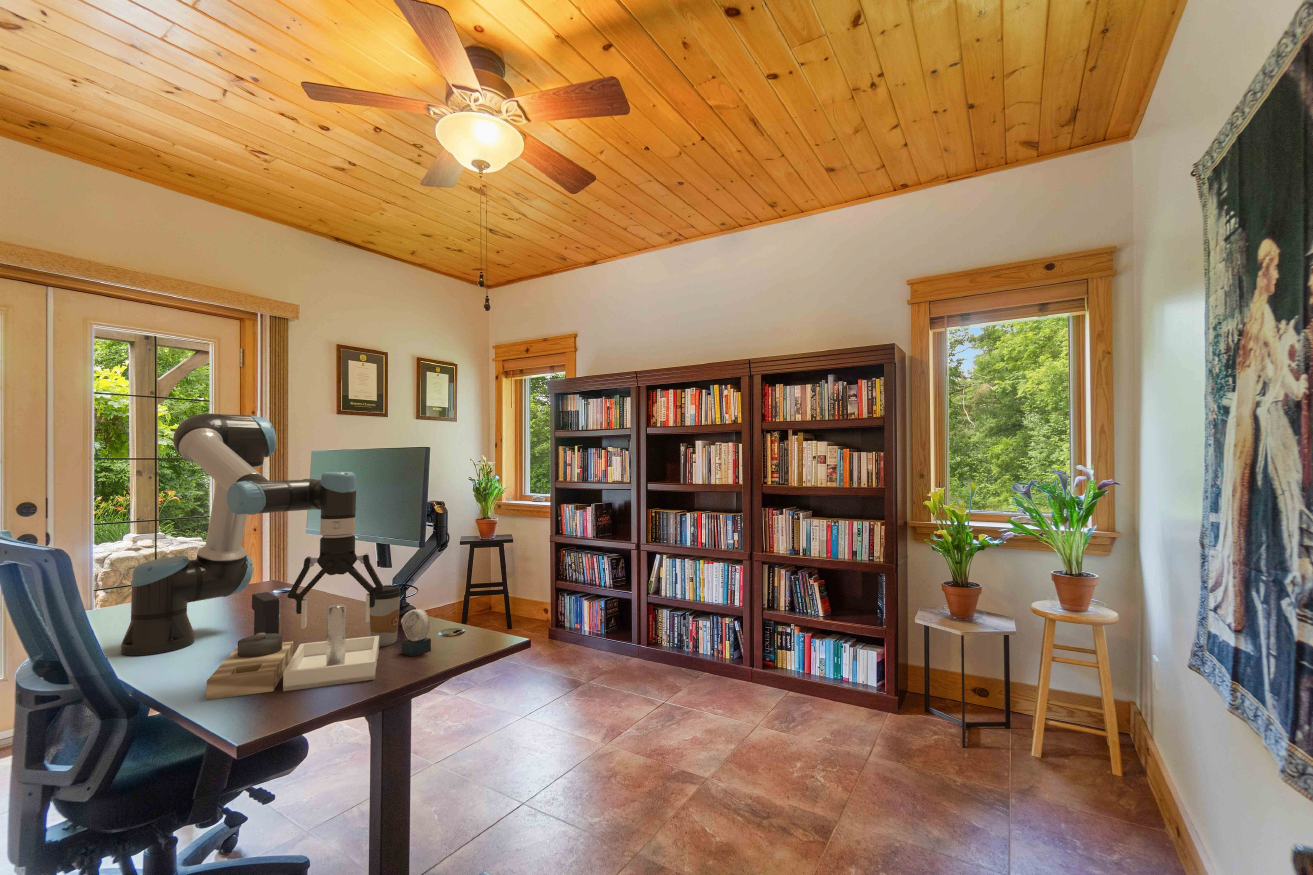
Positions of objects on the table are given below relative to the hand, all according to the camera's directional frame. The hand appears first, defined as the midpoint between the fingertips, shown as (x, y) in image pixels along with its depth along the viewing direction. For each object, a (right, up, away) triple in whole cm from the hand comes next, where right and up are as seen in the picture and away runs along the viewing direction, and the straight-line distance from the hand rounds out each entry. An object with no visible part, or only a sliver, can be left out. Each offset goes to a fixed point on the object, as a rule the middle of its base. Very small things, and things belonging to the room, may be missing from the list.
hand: (336, 624), depth 143 cm
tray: (0, -11, 0) cm, 11 cm away
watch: (+14, -11, +12) cm, 22 cm away
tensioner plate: (-16, -11, -5) cm, 20 cm away
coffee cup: (+2, -12, +20) cm, 23 cm away
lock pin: (0, -10, 0) cm, 10 cm away
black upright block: (-24, -11, +11) cm, 29 cm away
